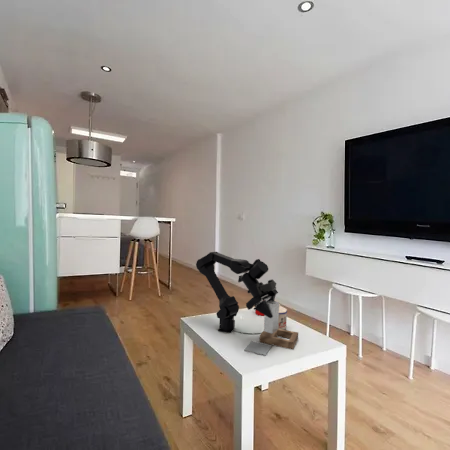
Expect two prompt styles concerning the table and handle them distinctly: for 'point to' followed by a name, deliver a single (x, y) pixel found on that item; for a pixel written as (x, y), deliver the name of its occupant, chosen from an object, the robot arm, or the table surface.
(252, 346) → the rubber mat
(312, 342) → the table surface
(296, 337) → the brown wooden rectangular frame
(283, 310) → the teacup with lid
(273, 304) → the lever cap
